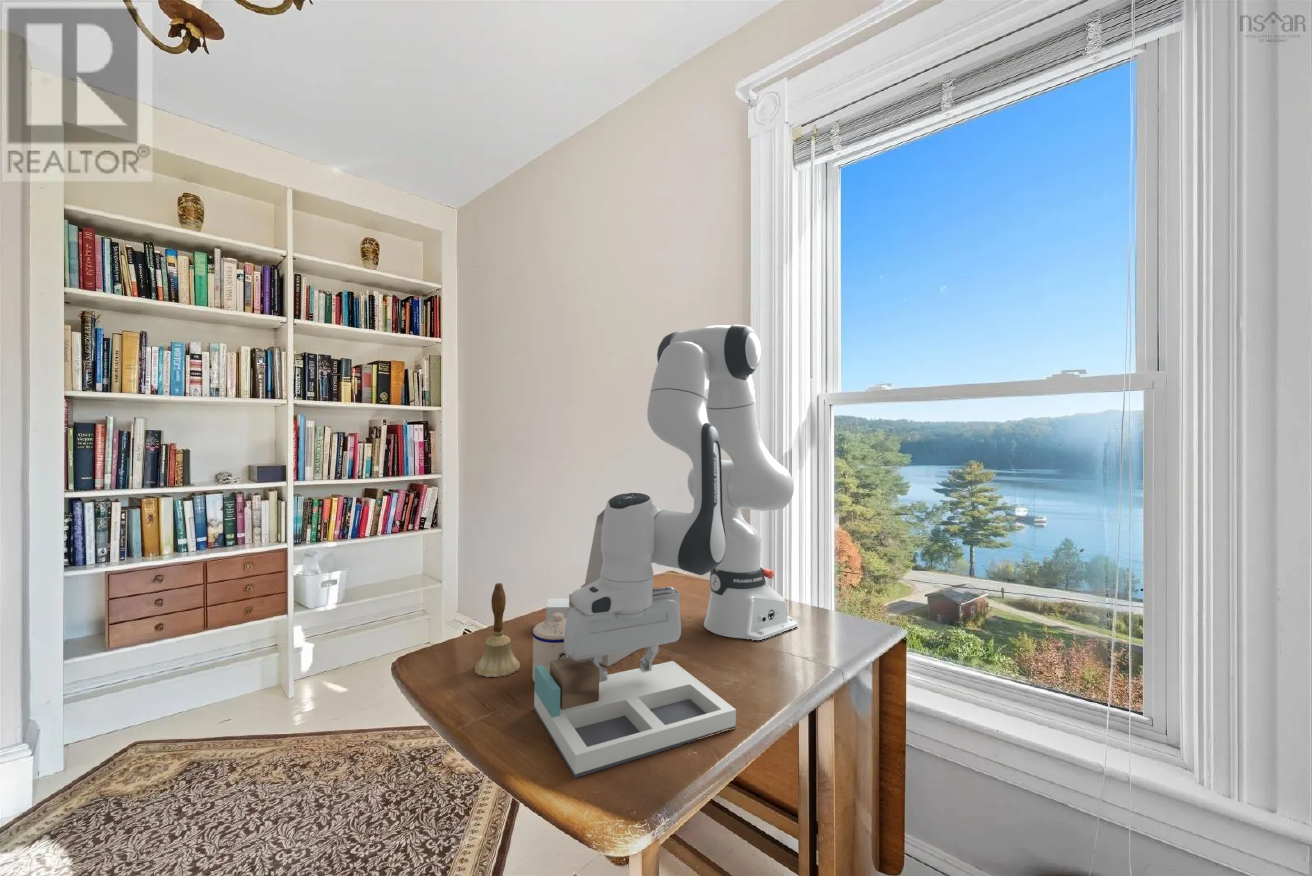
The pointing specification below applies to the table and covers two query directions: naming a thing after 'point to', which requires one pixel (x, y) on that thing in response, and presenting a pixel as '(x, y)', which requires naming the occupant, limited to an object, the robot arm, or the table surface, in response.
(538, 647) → the teacup with lid
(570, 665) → the walnut block
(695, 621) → the table surface
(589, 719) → the board
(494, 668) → the hand bell
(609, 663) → the miniature monument
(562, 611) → the white cube
